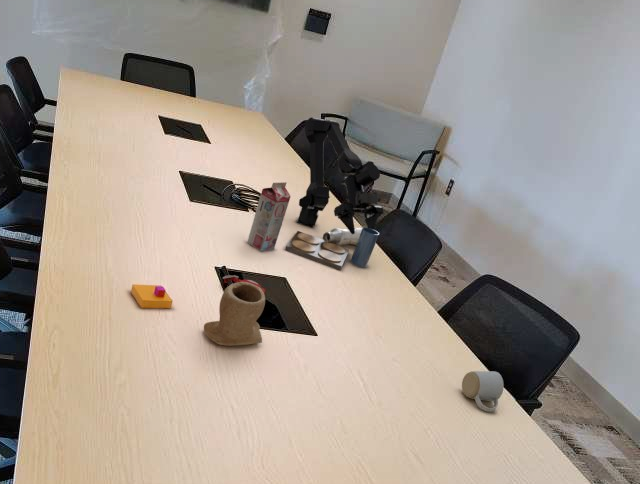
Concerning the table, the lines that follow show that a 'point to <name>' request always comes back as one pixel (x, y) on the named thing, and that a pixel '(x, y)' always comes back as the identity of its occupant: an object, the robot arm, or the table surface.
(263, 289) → the tracker holder
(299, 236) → the coaster board
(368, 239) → the tumbler
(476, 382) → the ceramic mug
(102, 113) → the table surface
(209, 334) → the stone cup
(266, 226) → the juice carton
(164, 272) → the table surface
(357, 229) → the silver metal bottle
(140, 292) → the orange tile with cube
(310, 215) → the robot arm
